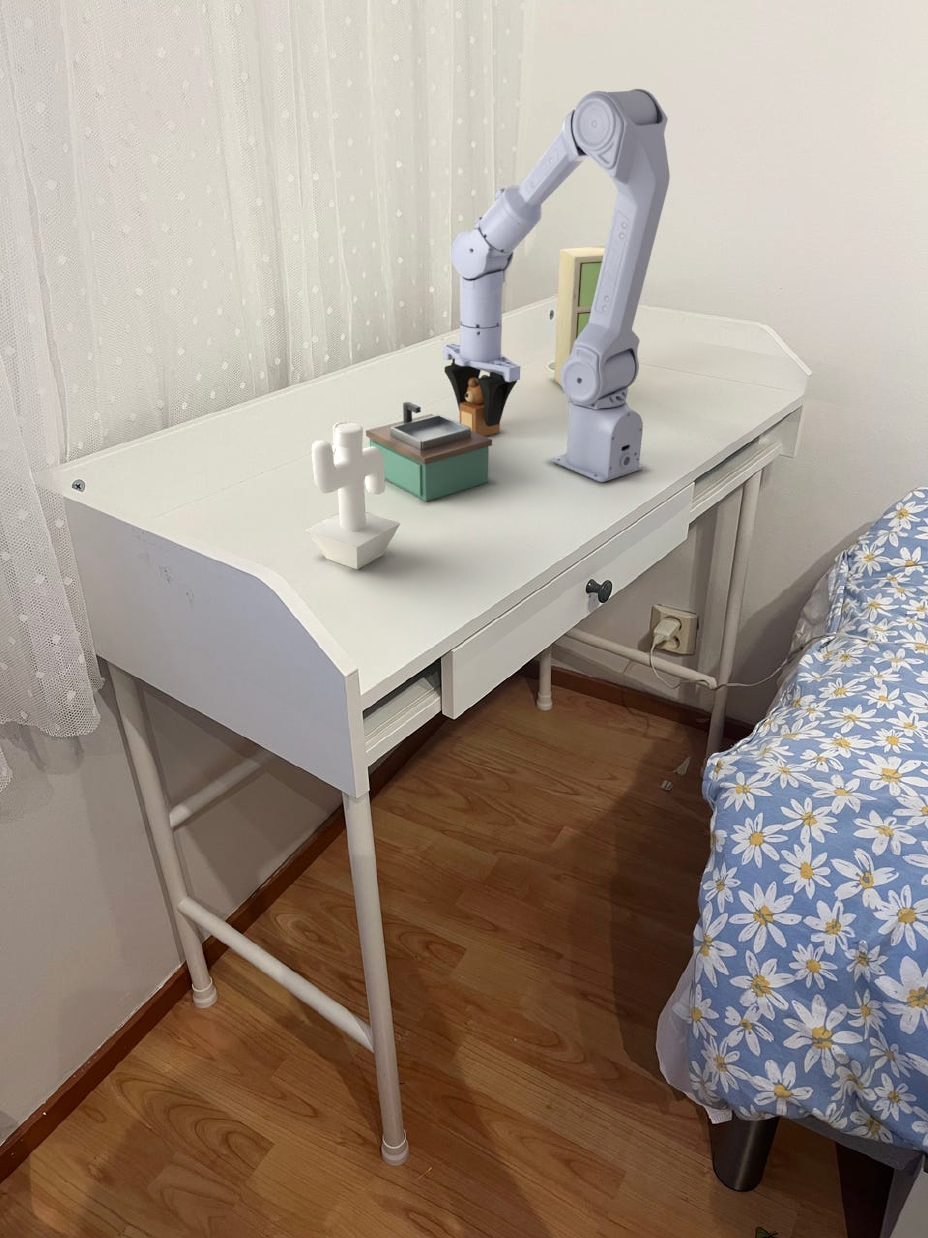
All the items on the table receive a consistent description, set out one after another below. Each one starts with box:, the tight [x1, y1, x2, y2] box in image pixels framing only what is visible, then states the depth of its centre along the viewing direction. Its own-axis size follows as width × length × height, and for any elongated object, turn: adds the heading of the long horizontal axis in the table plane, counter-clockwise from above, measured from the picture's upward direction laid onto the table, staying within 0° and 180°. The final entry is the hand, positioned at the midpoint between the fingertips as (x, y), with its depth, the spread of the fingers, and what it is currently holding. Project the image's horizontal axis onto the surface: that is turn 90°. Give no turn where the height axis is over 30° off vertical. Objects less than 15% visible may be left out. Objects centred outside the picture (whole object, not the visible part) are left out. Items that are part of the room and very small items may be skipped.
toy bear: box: [459, 374, 501, 437], centre depth 139 cm, size 4×5×8 cm
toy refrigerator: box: [553, 246, 606, 387], centre depth 155 cm, size 8×7×21 cm
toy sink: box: [365, 401, 493, 502], centre depth 124 cm, size 13×11×9 cm
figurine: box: [305, 420, 401, 570], centre depth 103 cm, size 7×9×15 cm
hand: (479, 419), depth 140 cm, fingers open, 5 cm apart
